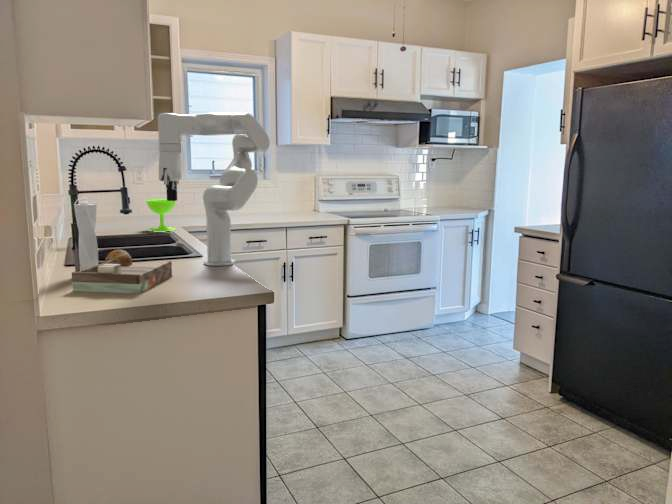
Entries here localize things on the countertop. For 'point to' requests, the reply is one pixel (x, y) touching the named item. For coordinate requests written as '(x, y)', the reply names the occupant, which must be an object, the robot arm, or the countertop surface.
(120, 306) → the countertop surface
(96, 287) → the trap box
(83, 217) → the skyscraper
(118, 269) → the birch block
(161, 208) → the wineglass
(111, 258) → the bread roll
